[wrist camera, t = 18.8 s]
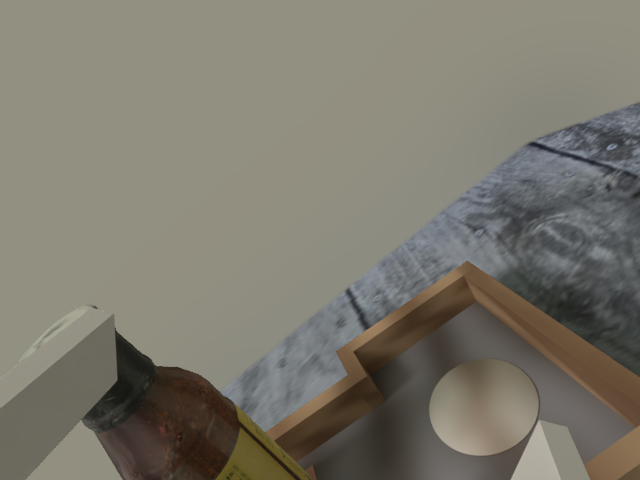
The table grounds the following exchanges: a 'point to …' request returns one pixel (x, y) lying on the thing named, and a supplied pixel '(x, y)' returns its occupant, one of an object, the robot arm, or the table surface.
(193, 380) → the sauce bottle
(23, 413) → the robot arm
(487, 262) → the table surface
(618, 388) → the keyhole guide
